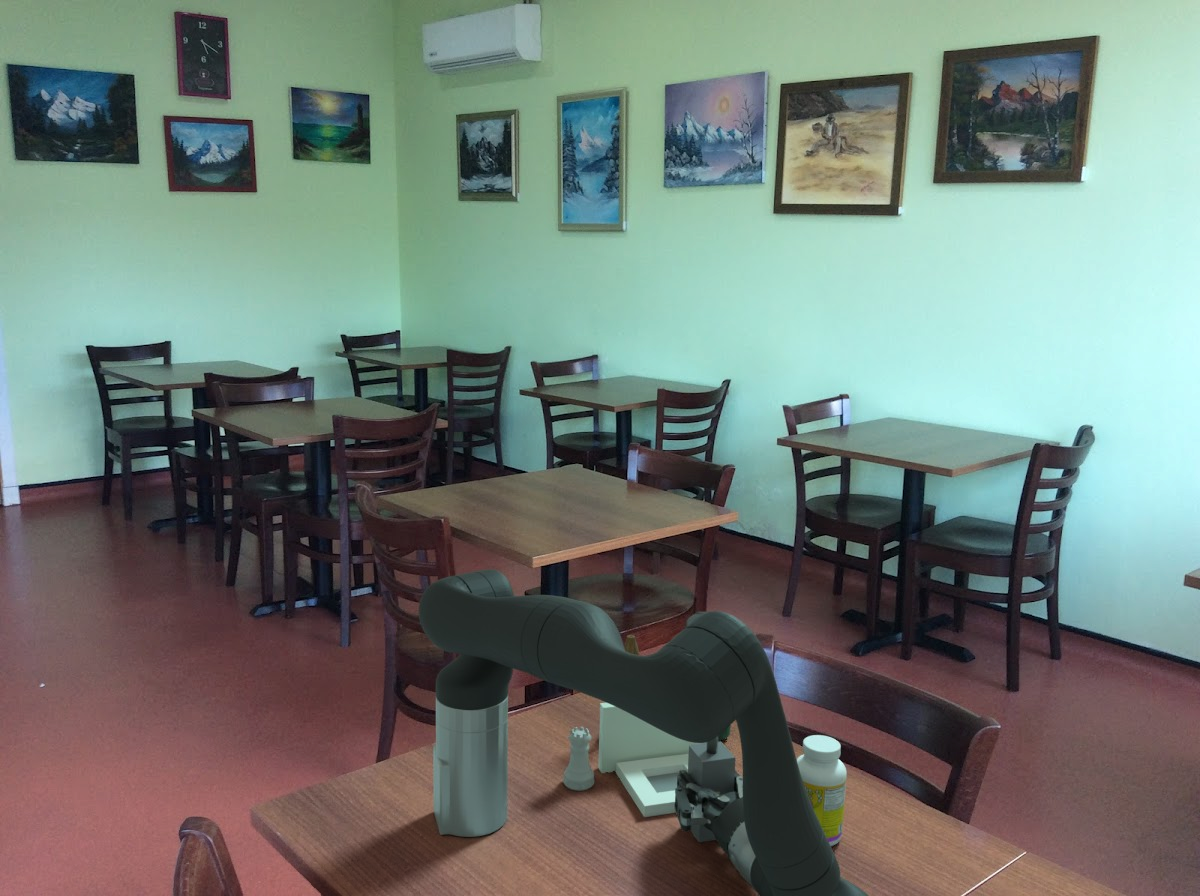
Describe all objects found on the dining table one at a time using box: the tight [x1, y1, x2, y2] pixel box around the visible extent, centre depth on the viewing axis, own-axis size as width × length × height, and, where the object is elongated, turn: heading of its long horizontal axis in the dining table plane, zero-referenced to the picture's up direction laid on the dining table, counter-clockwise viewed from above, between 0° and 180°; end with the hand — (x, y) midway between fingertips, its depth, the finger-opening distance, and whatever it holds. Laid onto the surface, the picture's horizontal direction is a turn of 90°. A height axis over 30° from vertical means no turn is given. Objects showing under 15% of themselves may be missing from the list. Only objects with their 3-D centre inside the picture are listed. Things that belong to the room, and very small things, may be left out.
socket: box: [597, 702, 707, 818], centre depth 139 cm, size 18×14×10 cm
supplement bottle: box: [796, 734, 848, 847], centre depth 127 cm, size 7×7×13 cm
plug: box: [688, 736, 736, 843], centre depth 128 cm, size 4×5×13 cm
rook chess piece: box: [562, 726, 596, 792], centre depth 139 cm, size 4×4×8 cm
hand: (702, 774), depth 130 cm, fingers open, 5 cm apart
